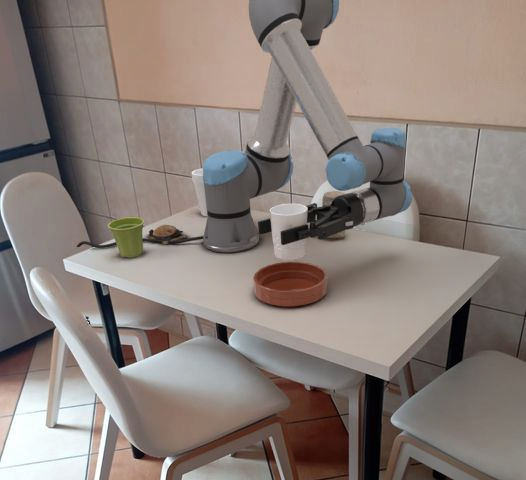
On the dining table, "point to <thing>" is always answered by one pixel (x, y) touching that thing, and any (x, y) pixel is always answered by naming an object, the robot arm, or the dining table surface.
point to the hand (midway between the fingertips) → (270, 233)
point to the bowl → (290, 283)
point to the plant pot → (128, 236)
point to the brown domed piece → (166, 233)
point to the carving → (328, 200)
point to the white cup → (287, 219)
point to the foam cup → (200, 189)
